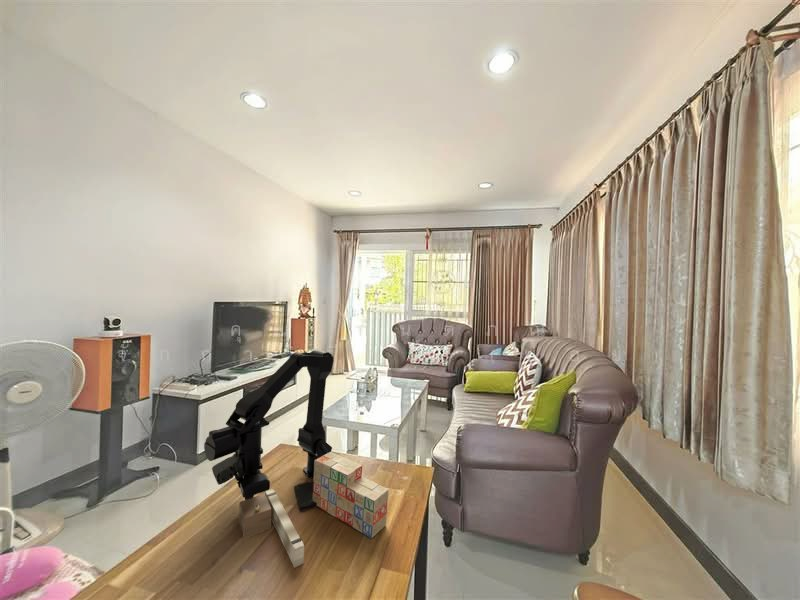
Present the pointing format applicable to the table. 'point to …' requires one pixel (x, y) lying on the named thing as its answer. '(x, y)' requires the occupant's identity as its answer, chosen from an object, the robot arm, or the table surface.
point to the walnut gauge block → (254, 515)
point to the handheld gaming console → (305, 495)
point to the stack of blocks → (349, 494)
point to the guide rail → (285, 529)
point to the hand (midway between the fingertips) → (247, 502)
